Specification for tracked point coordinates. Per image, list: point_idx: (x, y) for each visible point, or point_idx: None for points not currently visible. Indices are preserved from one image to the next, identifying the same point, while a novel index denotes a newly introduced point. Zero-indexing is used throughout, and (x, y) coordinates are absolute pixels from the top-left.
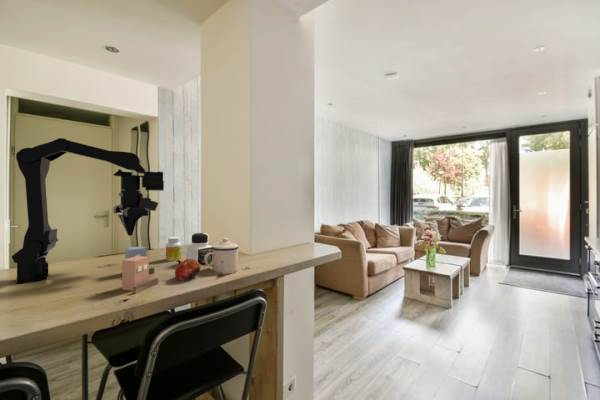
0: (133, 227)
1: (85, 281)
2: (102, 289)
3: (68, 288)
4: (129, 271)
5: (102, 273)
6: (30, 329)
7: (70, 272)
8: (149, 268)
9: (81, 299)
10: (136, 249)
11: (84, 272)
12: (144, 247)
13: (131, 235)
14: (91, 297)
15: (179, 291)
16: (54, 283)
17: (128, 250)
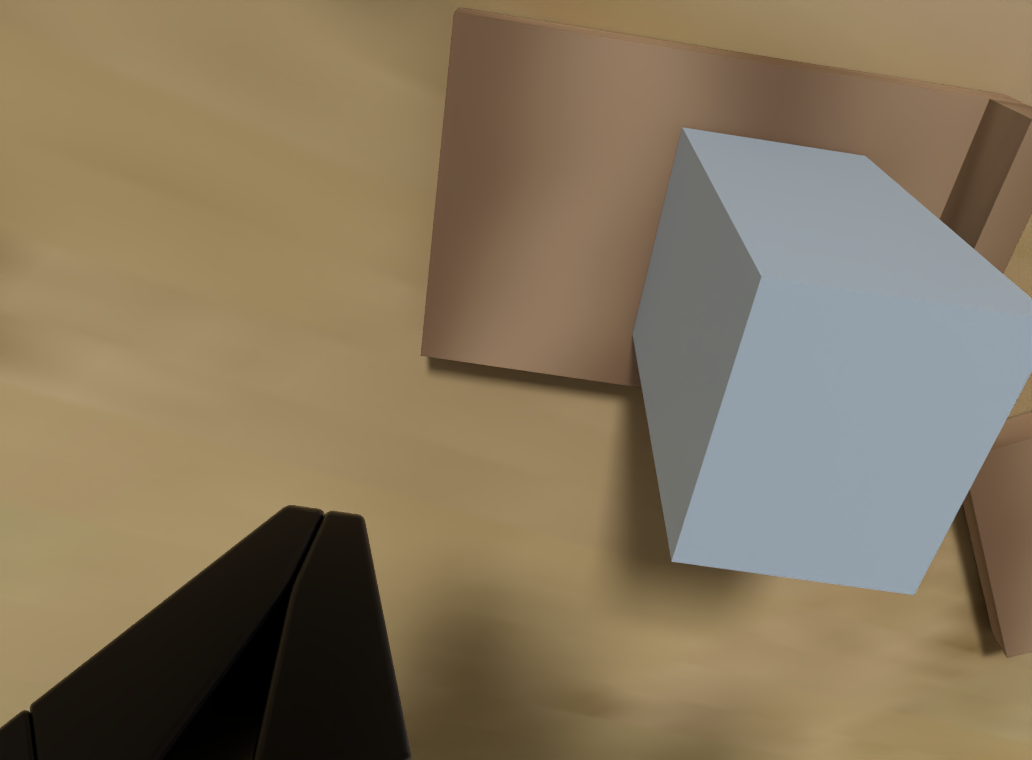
0: (405, 741)
1: (515, 594)
2: (893, 593)
3: (622, 705)
4: None
5: (316, 422)
6: None
7: (61, 577)
8: (1016, 188)
9: (979, 726)
10: (962, 490)
11: (144, 509)
12: (952, 319)
13: (364, 522)
14: (1006, 687)
15: None
16: None
17: (865, 577)
